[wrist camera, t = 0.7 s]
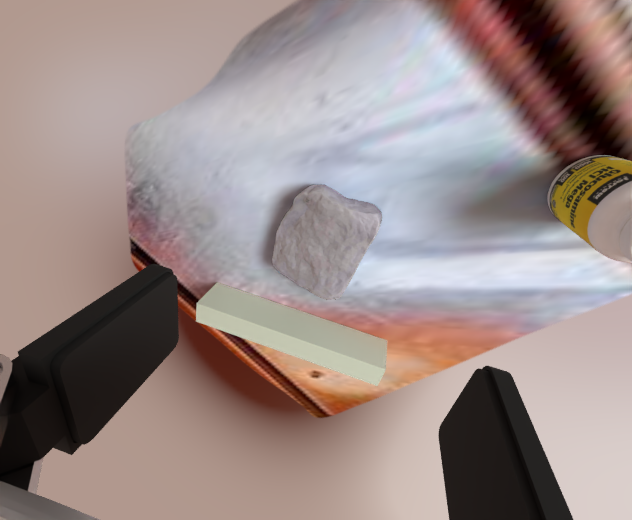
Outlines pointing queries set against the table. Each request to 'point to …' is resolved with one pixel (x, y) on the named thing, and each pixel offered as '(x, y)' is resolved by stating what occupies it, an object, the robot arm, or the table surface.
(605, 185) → the pill bottle
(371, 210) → the grey rock
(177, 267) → the table surface
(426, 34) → the table surface
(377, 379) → the board
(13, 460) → the robot arm
